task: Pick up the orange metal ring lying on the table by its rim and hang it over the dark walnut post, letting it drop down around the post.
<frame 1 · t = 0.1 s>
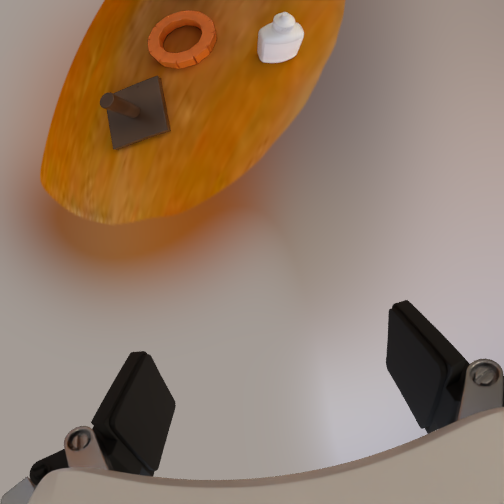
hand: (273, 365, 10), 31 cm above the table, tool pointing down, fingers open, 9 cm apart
post: (138, 113, 35), on the table
ring: (183, 41, 31), on the table
eye dropper bottle: (276, 54, 32), on the table
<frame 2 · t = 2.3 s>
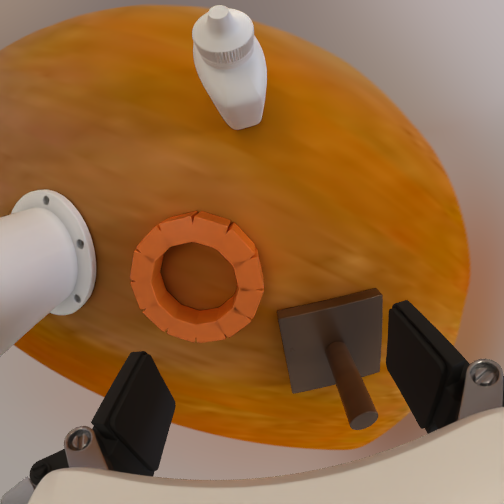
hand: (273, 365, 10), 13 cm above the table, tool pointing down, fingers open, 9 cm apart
post: (332, 340, 24), on the table
ring: (199, 274, 22), on the table
eye dropper bottle: (237, 95, 18), on the table
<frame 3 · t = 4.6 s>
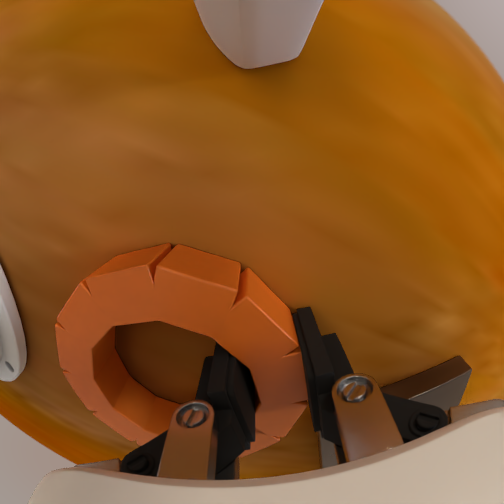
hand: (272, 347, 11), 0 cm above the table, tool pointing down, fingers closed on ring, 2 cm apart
post: (386, 427, 13), on the table
ring: (182, 357, 11), on the table, touching gripper
eye dropper bottle: (247, 14, 7), on the table
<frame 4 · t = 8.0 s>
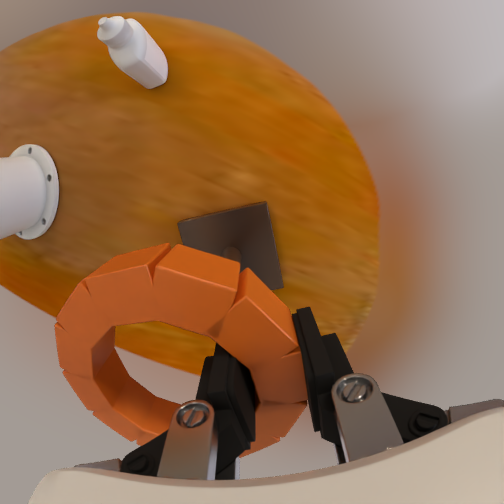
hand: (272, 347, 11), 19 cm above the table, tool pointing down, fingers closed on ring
post: (232, 252, 29), on the table
ring: (181, 357, 11), point 18 cm above the table, touching gripper
eye dropper bottle: (153, 67, 23), on the table
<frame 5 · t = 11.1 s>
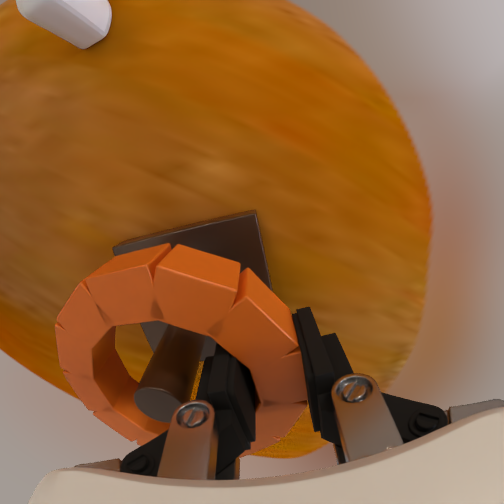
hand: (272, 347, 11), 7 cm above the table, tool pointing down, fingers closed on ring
post: (202, 291, 18), on the table
ring: (182, 357, 11), point 7 cm above the table, touching gripper
eye dropper bottle: (94, 22, 12), on the table
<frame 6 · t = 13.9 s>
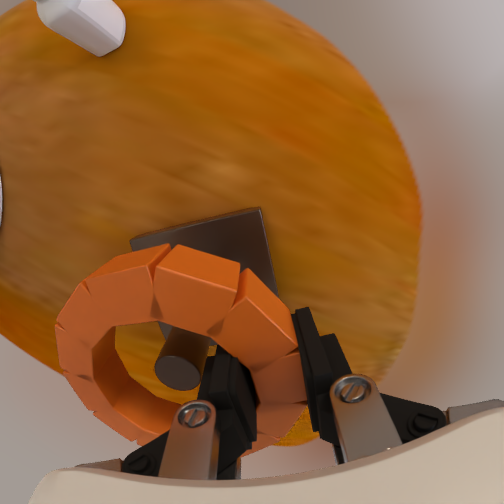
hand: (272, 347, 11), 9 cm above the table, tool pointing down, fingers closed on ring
post: (211, 281, 20), on the table
ring: (182, 357, 11), point 9 cm above the table, touching gripper
eye dropper bottle: (108, 31, 14), on the table
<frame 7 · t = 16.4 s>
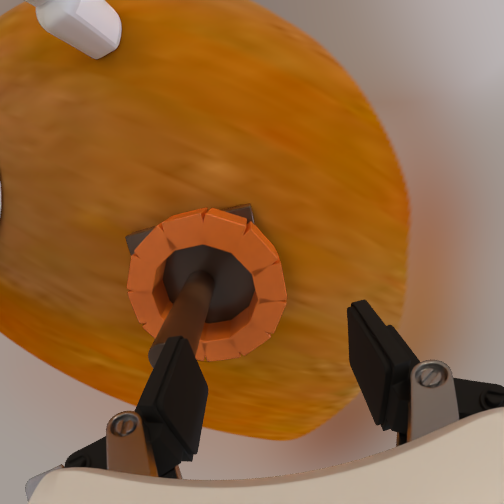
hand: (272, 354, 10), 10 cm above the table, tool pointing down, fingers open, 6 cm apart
post: (204, 276, 20), on the table
ring: (208, 282, 19), point 1 cm above the table, touching post
eye dropper bottle: (105, 34, 14), on the table
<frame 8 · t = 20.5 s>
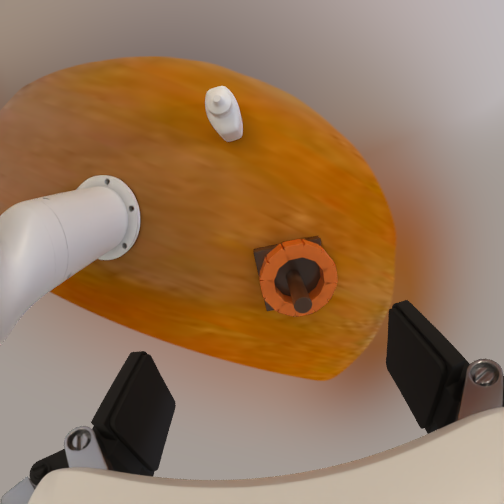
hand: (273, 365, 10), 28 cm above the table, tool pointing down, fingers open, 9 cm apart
post: (291, 272, 39), on the table
ring: (297, 275, 37), point 1 cm above the table, touching post
eye dropper bottle: (228, 121, 33), on the table
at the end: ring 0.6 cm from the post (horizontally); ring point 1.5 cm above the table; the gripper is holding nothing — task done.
